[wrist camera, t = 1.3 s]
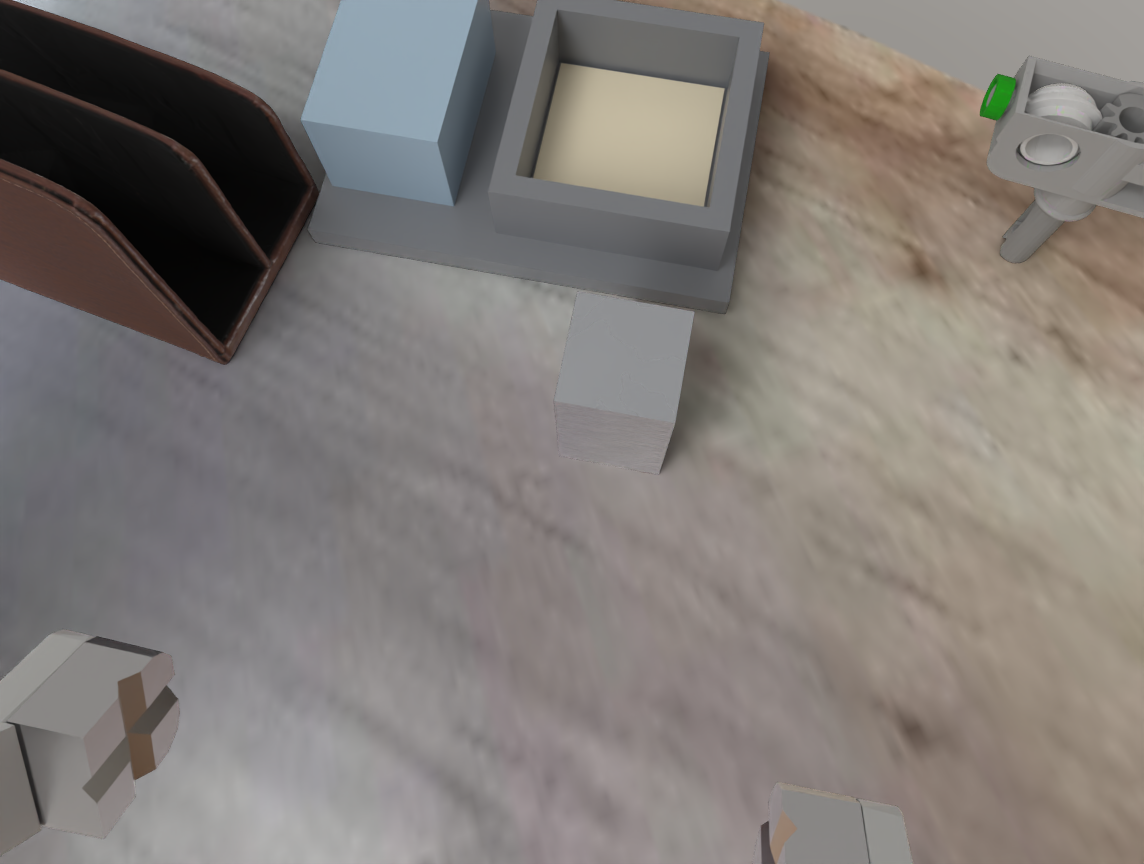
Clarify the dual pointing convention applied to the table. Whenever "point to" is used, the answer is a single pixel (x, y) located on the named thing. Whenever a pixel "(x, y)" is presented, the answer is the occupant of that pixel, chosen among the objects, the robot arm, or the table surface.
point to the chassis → (541, 141)
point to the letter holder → (140, 183)
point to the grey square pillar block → (621, 381)
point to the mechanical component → (1065, 147)
